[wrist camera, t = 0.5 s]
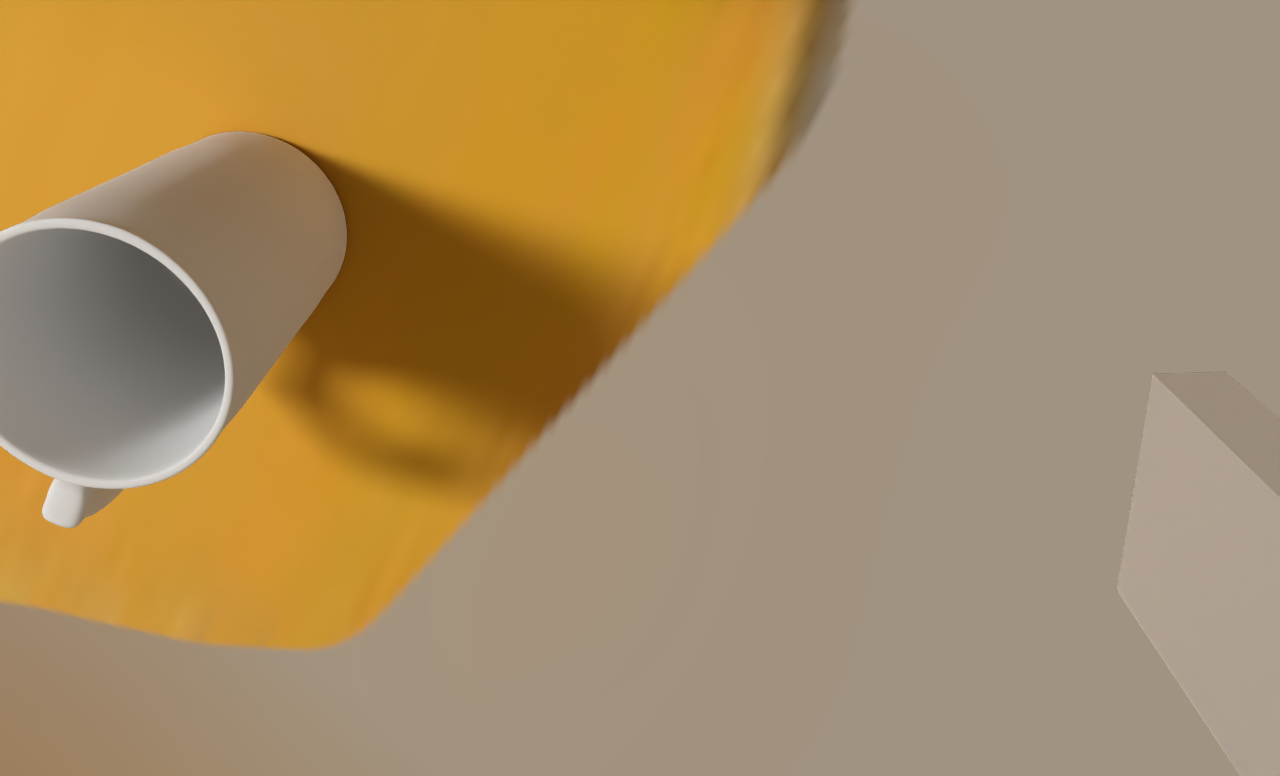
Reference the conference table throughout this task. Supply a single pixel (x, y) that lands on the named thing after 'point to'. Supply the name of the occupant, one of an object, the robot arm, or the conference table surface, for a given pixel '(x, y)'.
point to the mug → (157, 311)
